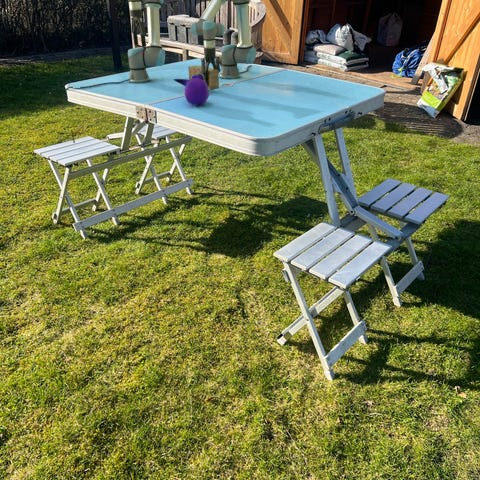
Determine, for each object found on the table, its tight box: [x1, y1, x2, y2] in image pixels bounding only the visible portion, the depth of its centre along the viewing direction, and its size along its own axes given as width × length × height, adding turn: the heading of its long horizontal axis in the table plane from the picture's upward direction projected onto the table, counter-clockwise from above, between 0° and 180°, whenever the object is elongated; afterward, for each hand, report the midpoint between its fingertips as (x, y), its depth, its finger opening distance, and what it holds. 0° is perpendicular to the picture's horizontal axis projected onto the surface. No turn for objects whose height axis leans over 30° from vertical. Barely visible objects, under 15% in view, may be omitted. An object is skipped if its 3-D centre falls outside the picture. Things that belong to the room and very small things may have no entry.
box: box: [187, 65, 220, 91], centre depth 305 cm, size 25×7×12 cm, turn 40°
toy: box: [173, 74, 210, 107], centre depth 272 cm, size 16×18×27 cm
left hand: (140, 45), depth 293 cm, fingers open, 13 cm apart
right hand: (211, 84), depth 301 cm, fingers closed on box, 7 cm apart
